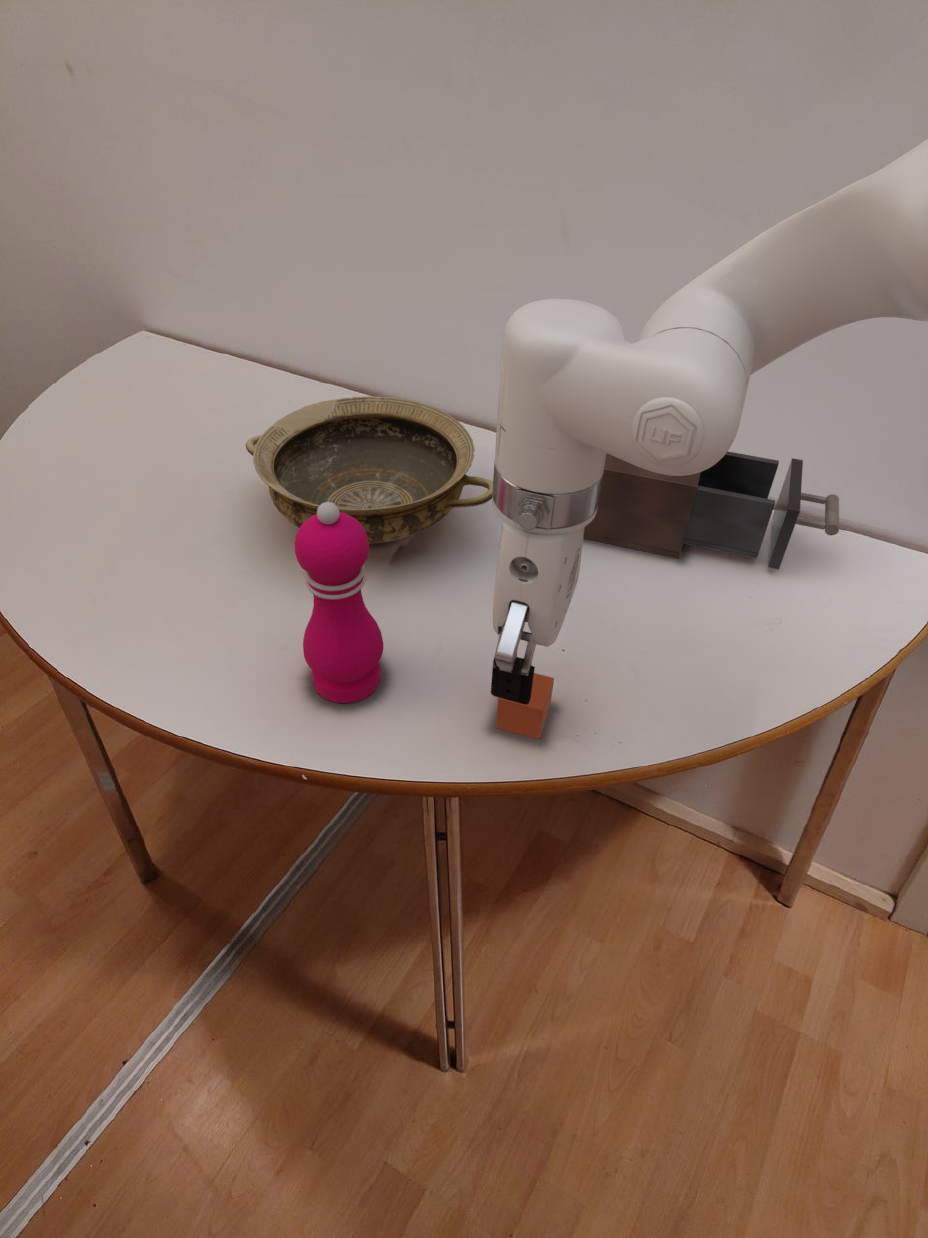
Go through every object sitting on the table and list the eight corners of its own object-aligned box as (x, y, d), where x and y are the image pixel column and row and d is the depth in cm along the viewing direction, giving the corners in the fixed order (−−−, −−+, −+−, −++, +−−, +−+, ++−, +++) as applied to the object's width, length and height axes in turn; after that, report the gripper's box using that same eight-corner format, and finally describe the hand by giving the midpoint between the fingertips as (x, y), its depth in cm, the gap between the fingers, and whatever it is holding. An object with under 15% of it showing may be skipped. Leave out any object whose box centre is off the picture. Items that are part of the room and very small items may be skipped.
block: (550, 707, 75) (554, 677, 73) (539, 739, 72) (542, 710, 70) (508, 696, 76) (510, 666, 73) (495, 728, 73) (497, 698, 71)
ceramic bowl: (523, 495, 100) (529, 422, 94) (451, 617, 84) (452, 539, 77) (306, 445, 108) (297, 374, 101) (201, 548, 91) (182, 472, 85)
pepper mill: (348, 720, 74) (328, 544, 60) (292, 683, 77) (260, 508, 63) (401, 674, 78) (392, 499, 64) (345, 641, 81) (326, 468, 67)
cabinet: (692, 503, 100) (709, 433, 93) (679, 559, 92) (697, 486, 85) (575, 480, 103) (584, 410, 97) (552, 532, 95) (560, 460, 88)
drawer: (824, 525, 95) (847, 467, 90) (823, 579, 88) (848, 520, 83) (668, 494, 100) (681, 437, 94) (655, 544, 92) (668, 485, 87)
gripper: (570, 572, 51) (543, 746, 62) (621, 437, 63) (591, 603, 74) (455, 546, 52) (450, 719, 64) (527, 418, 64) (512, 584, 76)
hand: (526, 657), depth 69 cm, fingers open, 9 cm apart
